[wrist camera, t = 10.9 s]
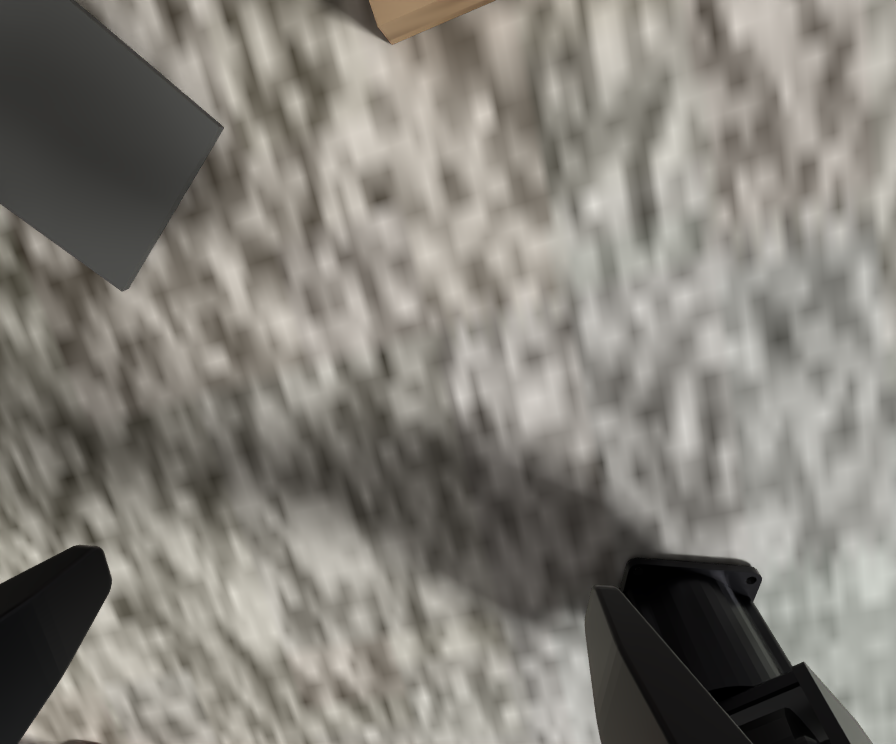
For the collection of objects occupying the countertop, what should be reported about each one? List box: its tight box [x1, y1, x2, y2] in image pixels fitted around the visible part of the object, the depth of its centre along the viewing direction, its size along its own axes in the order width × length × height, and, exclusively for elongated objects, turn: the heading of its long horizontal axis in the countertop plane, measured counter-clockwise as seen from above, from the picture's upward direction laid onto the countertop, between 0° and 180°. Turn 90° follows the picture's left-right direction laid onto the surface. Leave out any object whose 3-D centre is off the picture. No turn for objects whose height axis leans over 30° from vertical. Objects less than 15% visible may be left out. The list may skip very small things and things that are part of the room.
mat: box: [0, 0, 224, 291], centre depth 18 cm, size 8×8×1 cm
